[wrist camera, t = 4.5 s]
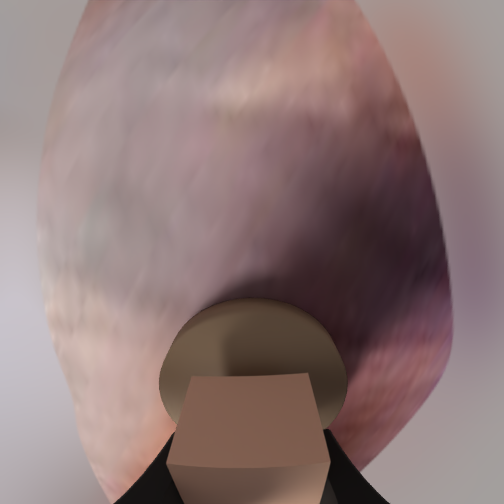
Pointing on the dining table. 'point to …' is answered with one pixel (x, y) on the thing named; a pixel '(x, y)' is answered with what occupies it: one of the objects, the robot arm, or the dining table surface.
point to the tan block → (249, 442)
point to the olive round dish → (254, 351)
